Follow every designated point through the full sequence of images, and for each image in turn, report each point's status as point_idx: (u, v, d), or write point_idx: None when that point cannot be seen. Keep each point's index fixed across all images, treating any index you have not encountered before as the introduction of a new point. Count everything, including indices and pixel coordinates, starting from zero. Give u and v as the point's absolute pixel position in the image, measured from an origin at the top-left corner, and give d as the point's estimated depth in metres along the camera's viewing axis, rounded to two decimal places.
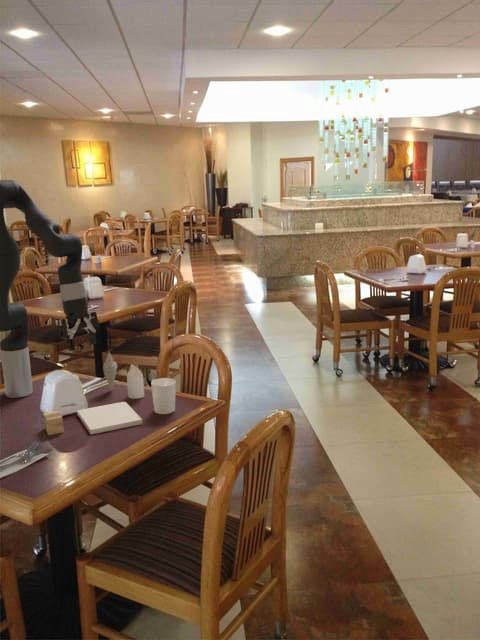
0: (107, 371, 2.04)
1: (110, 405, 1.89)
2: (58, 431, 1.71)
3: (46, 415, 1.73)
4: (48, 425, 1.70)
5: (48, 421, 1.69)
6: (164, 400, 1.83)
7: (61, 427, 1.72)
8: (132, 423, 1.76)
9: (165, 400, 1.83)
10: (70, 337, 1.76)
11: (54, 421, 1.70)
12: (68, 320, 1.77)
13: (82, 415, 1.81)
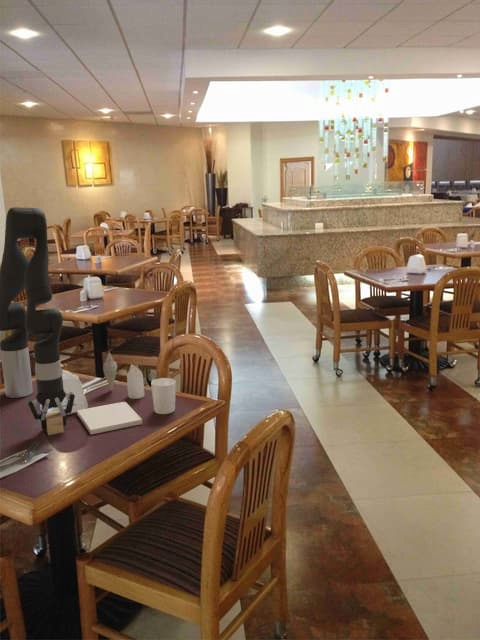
0: (107, 371, 2.04)
1: (110, 405, 1.89)
2: (58, 431, 1.71)
3: (46, 415, 1.72)
4: (48, 425, 1.70)
5: (48, 421, 1.69)
6: (164, 400, 1.83)
7: (61, 427, 1.71)
8: (132, 423, 1.76)
9: (165, 400, 1.83)
10: (42, 418, 1.70)
11: (54, 421, 1.70)
12: (37, 400, 1.69)
13: (82, 415, 1.81)
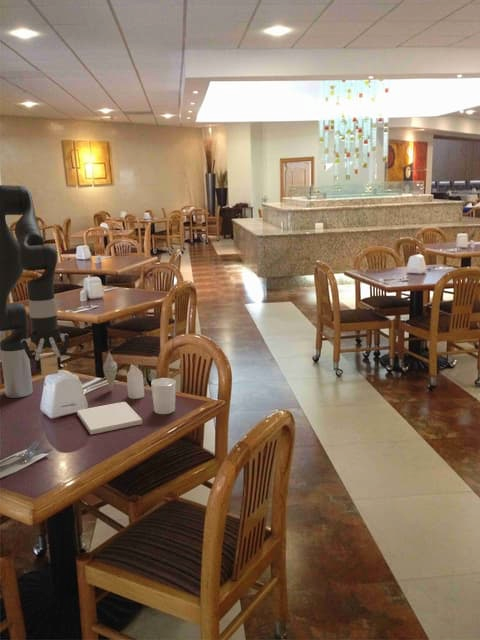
0: (107, 371, 2.04)
1: (110, 405, 1.89)
2: (53, 371, 1.67)
3: (40, 355, 1.68)
4: (42, 365, 1.65)
5: (42, 360, 1.65)
6: (164, 400, 1.83)
7: (56, 367, 1.67)
8: (132, 423, 1.76)
9: (165, 400, 1.83)
10: (36, 358, 1.66)
11: (48, 361, 1.66)
12: (30, 339, 1.65)
13: (82, 415, 1.81)
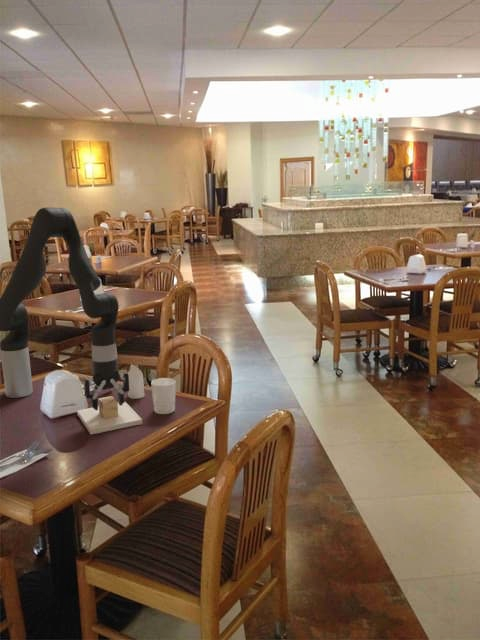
0: None
1: None
2: (113, 415, 1.79)
3: (101, 400, 1.80)
4: (104, 409, 1.77)
5: (104, 405, 1.77)
6: (164, 400, 1.83)
7: (116, 411, 1.79)
8: (132, 423, 1.76)
9: (165, 400, 1.83)
10: (93, 397, 1.76)
11: (109, 405, 1.77)
12: (93, 380, 1.76)
13: (82, 415, 1.81)
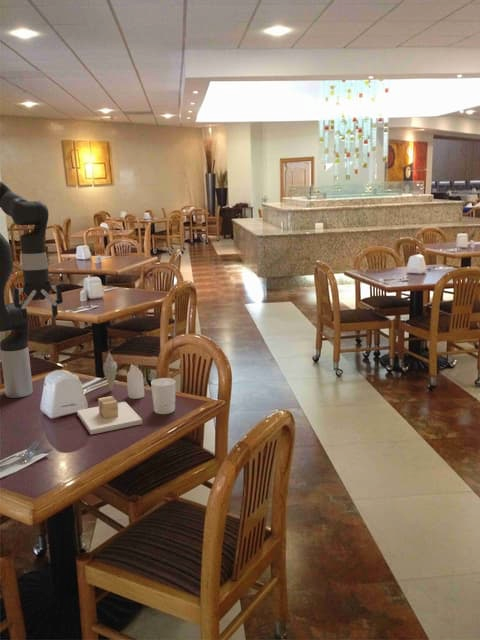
0: (107, 371, 2.04)
1: None
2: (113, 415, 1.79)
3: (101, 400, 1.80)
4: (104, 409, 1.77)
5: (104, 405, 1.77)
6: (164, 400, 1.83)
7: (116, 411, 1.79)
8: (132, 423, 1.76)
9: (165, 400, 1.83)
10: (22, 307, 1.75)
11: (109, 405, 1.77)
12: (23, 290, 1.75)
13: (82, 415, 1.81)
